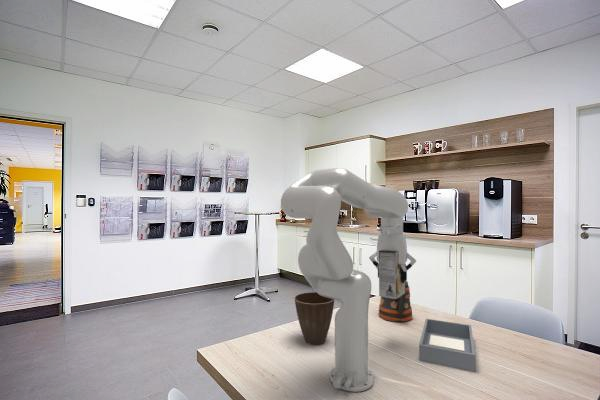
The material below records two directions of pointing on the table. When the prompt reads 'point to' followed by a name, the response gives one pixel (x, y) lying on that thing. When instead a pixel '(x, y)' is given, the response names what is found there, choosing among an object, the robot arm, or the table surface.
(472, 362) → the tote
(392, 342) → the table surface
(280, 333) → the table surface
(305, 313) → the plant pot
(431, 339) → the cream rectangular block
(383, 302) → the beer stein
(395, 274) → the coffee box
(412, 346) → the table surface
